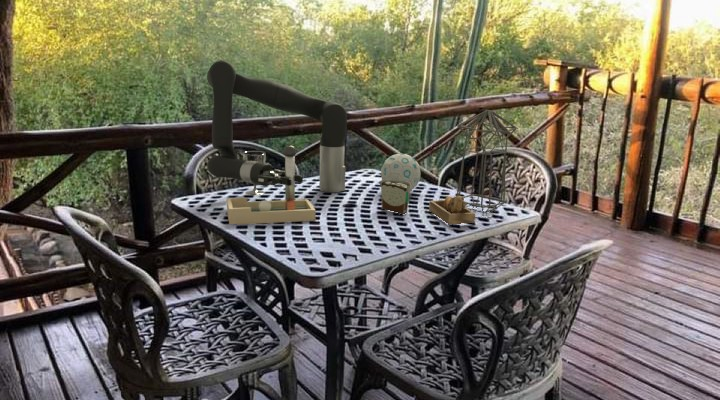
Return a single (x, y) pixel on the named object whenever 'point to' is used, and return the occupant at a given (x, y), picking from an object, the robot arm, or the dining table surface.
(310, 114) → the robot arm
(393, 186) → the food container
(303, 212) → the tray
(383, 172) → the puzzle ball
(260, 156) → the wine glass
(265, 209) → the ball
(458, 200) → the lion figurine
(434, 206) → the figurine crate
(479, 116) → the geometric lantern
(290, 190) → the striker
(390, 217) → the dining table surface
